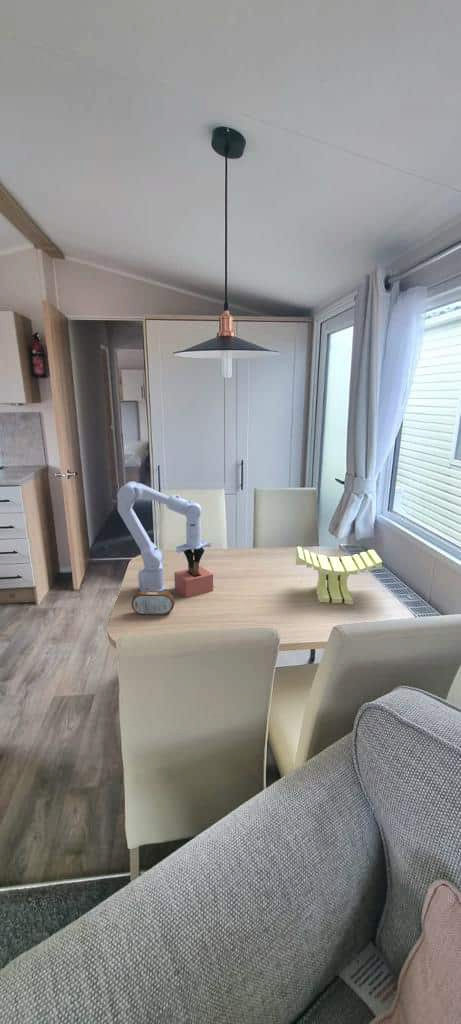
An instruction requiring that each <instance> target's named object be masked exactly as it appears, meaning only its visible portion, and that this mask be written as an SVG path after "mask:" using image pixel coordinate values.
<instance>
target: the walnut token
mask: <svg viewBox="0 0 461 1024" xmlns="http://www.w3.org/2000/svg"><path fill="white" fill-rule="evenodd" d="M187 565H188V566H187V567H188V568H187V569H188V572H190V573H191V574H193V575H194V576H195V575H199V567H200V562H199V563H198V562H197V561H195V560H194V559H193V568H190V567H189V564H188V563H187Z"/></svg>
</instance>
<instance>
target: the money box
mask: <svg viewBox="0 0 461 1024" xmlns="http://www.w3.org/2000/svg"><path fill="white" fill-rule="evenodd" d="M173 573H174V589H175V590H176V591H177V592H178V593H180V594H181V595H182V596H183V597H184V598H191V597H195V596H198V595H202V594H206V593H210V592H213V591H214V574H213V573H212V572H210V571H208V570H207V569H205V568H204V567H202V566H200V565H199V575H195V576H194V575H193V574H191V573H190V572H188V568H187V569H183V570H178V571H174V572H173Z"/></svg>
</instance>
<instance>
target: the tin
mask: <svg viewBox="0 0 461 1024" xmlns="http://www.w3.org/2000/svg"><path fill="white" fill-rule="evenodd" d="M175 602H176V600H175V597H174V596H173V594H171V593H170V592H169V591H167V590H164V591H141V590H140V591H138V592H136V593H134V595H132V599H131V607H132V610H133V611H134V612H135V613H137V614H138V615H142V614H144V615H145V614H147V615H153V616H155V615H156V616H159V615H160V616H161V615H162V616H164V615H168V614H170V613H171V612H172V611H173V610H174V606H175V604H176V603H175ZM147 615H146V616H147Z"/></svg>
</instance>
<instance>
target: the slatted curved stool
mask: <svg viewBox="0 0 461 1024" xmlns="http://www.w3.org/2000/svg"><path fill="white" fill-rule="evenodd" d="M295 564H296V566H298V565H299V566H306V568H311V569H312V568H313V570H314V571H317V575H318V576H317V577H318V579H317V582H316V586H315V590H316V589H317V592H318V596H319V599H318V601H319V600H320V602H329V603H331V604H335V603H342V602H344V603H353V602H354V601H352V600H353V599H352V596H350V595H351V594H350V591H349V589H348V578H349V576H350V575H358V571H359V573H366V570H367V571H374V569H382V567H383V560H382V558H380V556H379V555H378V553H377V552H376V551H375V549H368V550H367V551H362V552H359V554H358V553H355V554H352V556H351V555H348V556H347V555H346V556H328V557H327V555H322V554H316V553H315V552H313V551H310V552H309V550H307V549H304V548H302V546H296V552H295ZM374 567H375V568H374ZM327 589H328V590H327ZM317 592H316V593H317ZM328 592H329V593H328ZM340 593H341V594H340ZM329 595H330V596H329ZM318 596H317V597H318ZM341 596H342V597H341ZM344 603H342V604H344ZM352 605H355V602H354V603H353V604H352Z"/></svg>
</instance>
